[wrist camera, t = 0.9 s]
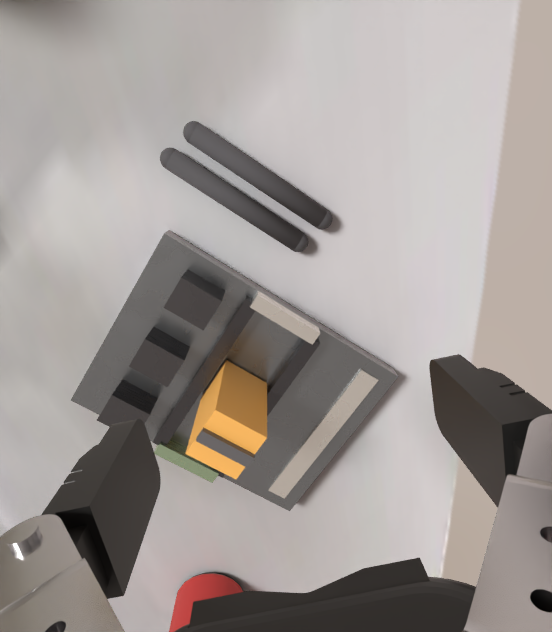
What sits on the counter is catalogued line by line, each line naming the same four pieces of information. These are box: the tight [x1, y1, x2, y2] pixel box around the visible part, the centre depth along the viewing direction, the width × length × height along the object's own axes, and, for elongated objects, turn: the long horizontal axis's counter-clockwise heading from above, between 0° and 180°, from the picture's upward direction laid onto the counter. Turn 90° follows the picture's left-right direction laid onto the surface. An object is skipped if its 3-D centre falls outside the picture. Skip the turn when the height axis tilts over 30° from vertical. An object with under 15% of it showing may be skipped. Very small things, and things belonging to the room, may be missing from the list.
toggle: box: [185, 360, 267, 479], centre depth 30 cm, size 4×4×7 cm
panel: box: [71, 230, 398, 511], centre depth 33 cm, size 15×20×4 cm
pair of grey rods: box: [160, 121, 332, 252], centre depth 29 cm, size 4×12×1 cm, turn 57°
